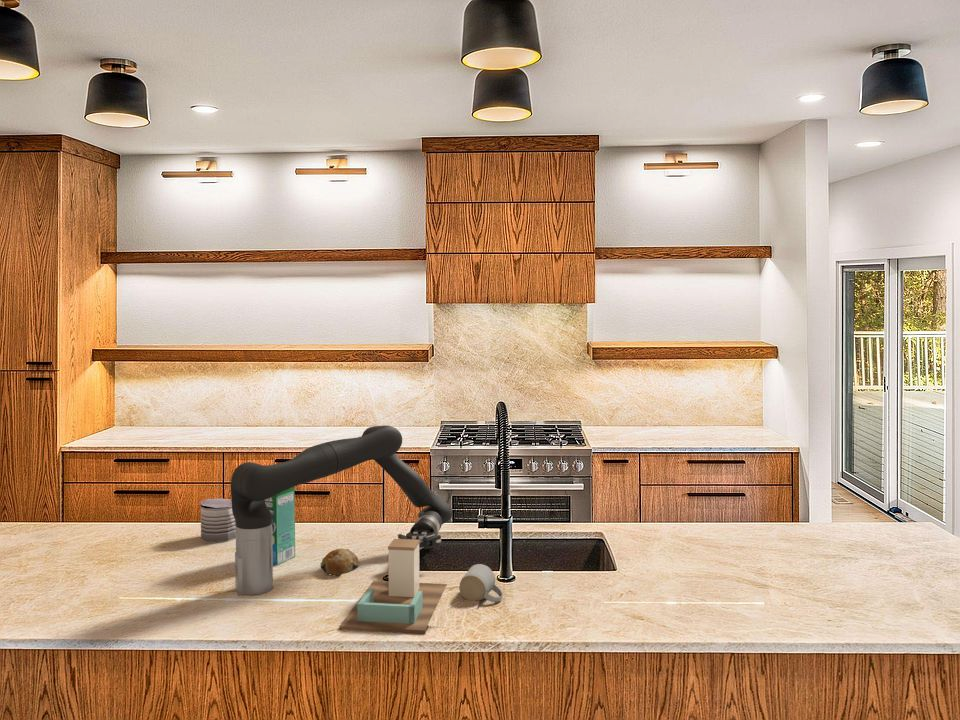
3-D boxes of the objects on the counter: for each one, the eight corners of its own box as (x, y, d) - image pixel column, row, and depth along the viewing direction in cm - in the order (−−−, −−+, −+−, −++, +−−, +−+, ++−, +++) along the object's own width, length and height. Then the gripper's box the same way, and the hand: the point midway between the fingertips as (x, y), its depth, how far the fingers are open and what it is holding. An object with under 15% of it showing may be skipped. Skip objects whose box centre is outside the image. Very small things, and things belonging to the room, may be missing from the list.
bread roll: (344, 590, 211) (355, 565, 209) (312, 572, 212) (323, 547, 211) (356, 578, 220) (367, 554, 219) (326, 561, 222) (337, 537, 221)
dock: (369, 604, 188) (369, 588, 188) (422, 607, 187) (422, 591, 187) (357, 620, 178) (357, 604, 178) (413, 623, 177) (413, 606, 176)
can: (211, 532, 253) (210, 496, 252) (243, 533, 252) (243, 497, 251) (193, 542, 242) (193, 504, 241) (227, 544, 240) (227, 506, 240)
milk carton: (251, 562, 223) (249, 477, 221) (270, 553, 231) (269, 471, 230) (276, 566, 219) (275, 480, 218) (295, 556, 228) (294, 473, 226)
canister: (394, 586, 201) (394, 538, 200) (419, 587, 200) (419, 539, 199) (388, 596, 194) (387, 546, 193) (414, 597, 193) (414, 547, 192)
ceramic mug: (457, 601, 193) (457, 571, 192) (467, 590, 200) (468, 561, 200) (497, 607, 189) (498, 577, 189) (506, 596, 197) (507, 566, 197)
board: (373, 583, 205) (373, 580, 205) (446, 587, 203) (446, 584, 203) (339, 629, 176) (339, 625, 175) (425, 633, 173) (425, 630, 173)
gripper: (402, 517, 224) (388, 535, 207) (447, 518, 223) (436, 536, 206) (403, 542, 225) (389, 562, 208) (447, 543, 223) (437, 563, 206)
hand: (413, 549), depth 207 cm, fingers closed
